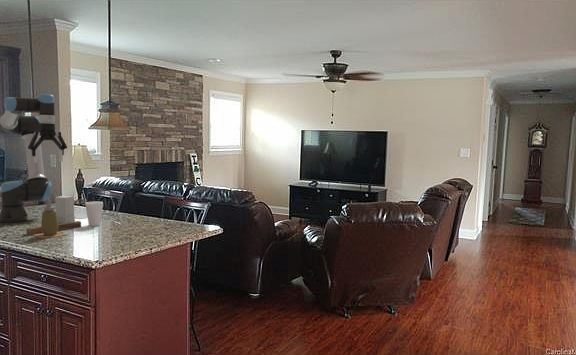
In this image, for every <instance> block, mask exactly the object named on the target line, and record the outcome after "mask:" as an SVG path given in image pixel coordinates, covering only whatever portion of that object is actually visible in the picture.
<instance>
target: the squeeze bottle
mask: <svg viewBox="0 0 576 355" xmlns="http://www.w3.org/2000/svg"><path fill="white" fill-rule="evenodd" d="M46 201H47V202H46V206H45V207H43V212H41V225H40V227H41V229H42V231H43V234H44V235H55V234H56V233H57V232H58V231H57V230H58V224H59V223H58V220H57V213H56V210H55V207H54V206H53V205H52V202H51V199H48V200H46Z"/></svg>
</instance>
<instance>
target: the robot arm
mask: <svg viewBox="0 0 576 355" xmlns="http://www.w3.org/2000/svg"><path fill="white" fill-rule="evenodd" d="M54 96H55V95H53V94H49V93H48V94H45V93H41V94H39V95H38V98H32V97H18V96H17V97H16V96H15V97H14V96H7V97H5V98H4V102H3V103H4V104H3V106H4V110H5V111H4V114H2V115H1V116H0V128H1V129H2V130H3V131H4V132H6V133H8V134H9V135H15V136H17V135H18V136H21V139H23V140H24V143H25V154H26V162H27V174H28V177H27V179H26V180H25V181H26V182H25V181H24V180H22V179H20V180H11V181H6V182H3V183H1V185H0V198H1V199H0V200H1V201H0V202H1V203H0V204H1V207H0V208H1V209H0V223H6V224H8V223H9V224H10V223H11V224H12V223H21V222H25V221H28V220H29V216H28V213H27V210H26V209H25V203H27V202H28V203H31V202H42V201H43V202H44V201H48V200H50V198H51V196H52V186H53V185H52V182H51V181H49V180H48V177H47V176H46V175H45V167H44V160H43V150H42V143H43V142H44V141H52V142H53V143H54V144H55V145H56V146H57V147H58V162H63V161H64V160H63V156H64V155H65V149H68V146H67V144H66V142H65V140H64V138H63V136H62V132H61V131H57V132H56V123H55V122H56V120H55V119H56V114H55V113H56V112H55V102H56V100H55V97H54ZM22 112H23V113H24V112H25V113H29V112H30V113H39V114H38V116H36V115H22ZM56 137H57V138H56Z"/></svg>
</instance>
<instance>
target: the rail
mask: <svg viewBox="0 0 576 355" xmlns="http://www.w3.org/2000/svg"><path fill="white" fill-rule="evenodd" d="M81 227H82V222H81V221H80V220H75V222H68V223H58V230H57V233H56V234H55V235H44V234H43V231H42V229H41V226H36V227H29V228H26V235H27V234H28V236H33V237H37V238H38V239H39V238H40V239H42V238H43V240H47V239H51V238H58V237H62V236H67V235H68V234H67V233H64V232H60V231H64V230H71V229H77V228H81ZM46 238H47V239H46Z"/></svg>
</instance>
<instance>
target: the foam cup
mask: <svg viewBox="0 0 576 355" xmlns="http://www.w3.org/2000/svg"><path fill="white" fill-rule="evenodd" d="M84 204H85V205H84V206H85V210H86V216H87V222H88V226H90V227H99V226H101V225H102V215H103V207H104V202H103V201H87V202H85V203H84Z"/></svg>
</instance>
